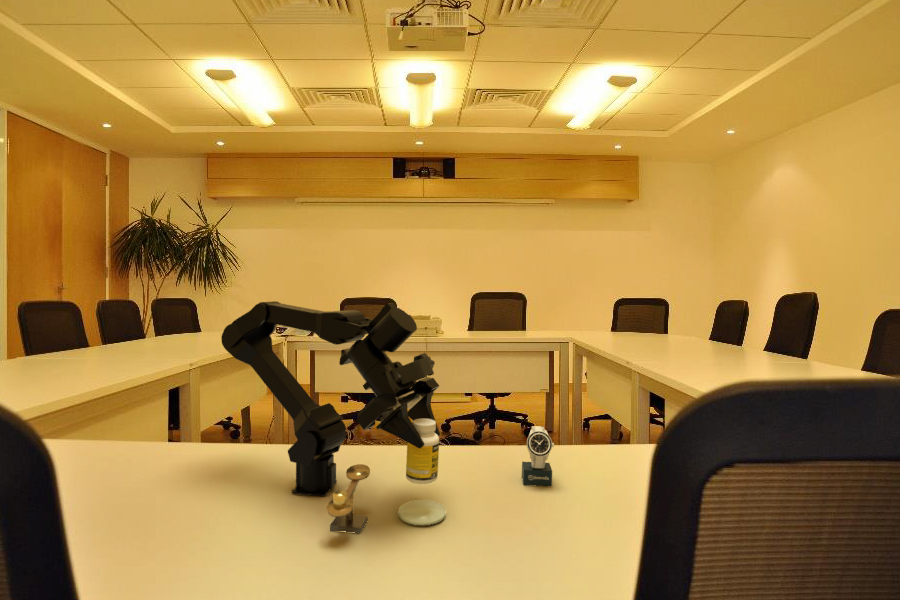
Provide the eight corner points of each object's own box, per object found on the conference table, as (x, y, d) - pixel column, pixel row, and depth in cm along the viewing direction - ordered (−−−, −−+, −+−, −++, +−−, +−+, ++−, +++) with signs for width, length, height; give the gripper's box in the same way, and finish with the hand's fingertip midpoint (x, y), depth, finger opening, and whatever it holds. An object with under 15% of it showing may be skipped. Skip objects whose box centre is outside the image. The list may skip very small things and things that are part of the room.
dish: (393, 525, 82) (393, 519, 82) (404, 503, 90) (404, 497, 90) (441, 529, 81) (442, 523, 81) (448, 507, 89) (448, 501, 89)
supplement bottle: (435, 486, 83) (438, 427, 82) (403, 483, 83) (405, 425, 82) (439, 473, 88) (441, 417, 87) (408, 470, 88) (410, 416, 88)
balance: (319, 546, 76) (319, 494, 75) (347, 506, 89) (347, 463, 88) (351, 549, 75) (352, 497, 75) (375, 509, 88) (375, 465, 87)
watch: (524, 489, 97) (526, 433, 97) (521, 473, 105) (522, 421, 105) (553, 491, 97) (555, 434, 96) (548, 474, 105) (549, 422, 104)
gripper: (375, 346, 77) (436, 429, 73) (431, 334, 94) (484, 400, 90) (332, 390, 81) (388, 471, 77) (394, 370, 98) (442, 436, 94)
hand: (430, 441), depth 85 cm, fingers closed on supplement bottle, 5 cm apart
